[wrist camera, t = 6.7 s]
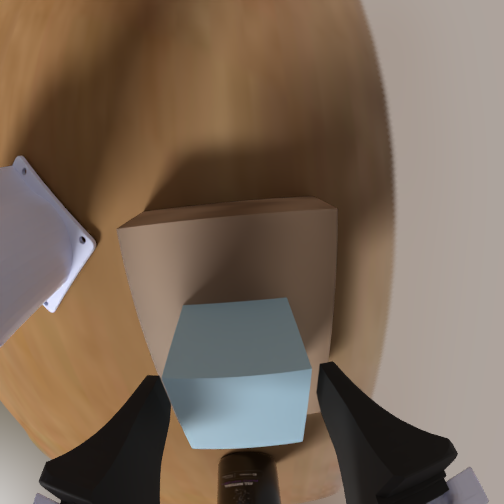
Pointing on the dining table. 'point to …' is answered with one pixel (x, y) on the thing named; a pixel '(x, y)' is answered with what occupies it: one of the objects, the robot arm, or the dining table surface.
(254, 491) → the supplement bottle
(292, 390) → the blue cube
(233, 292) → the walnut block
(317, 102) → the dining table surface
